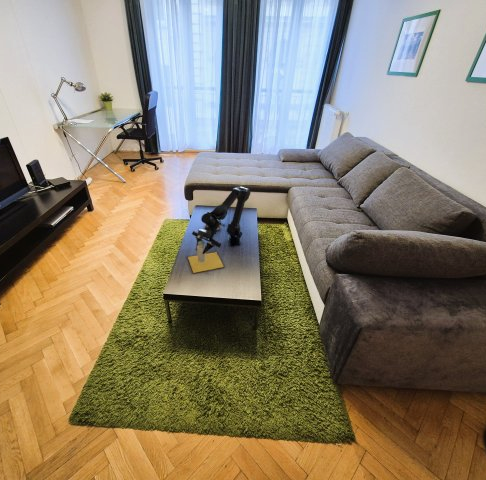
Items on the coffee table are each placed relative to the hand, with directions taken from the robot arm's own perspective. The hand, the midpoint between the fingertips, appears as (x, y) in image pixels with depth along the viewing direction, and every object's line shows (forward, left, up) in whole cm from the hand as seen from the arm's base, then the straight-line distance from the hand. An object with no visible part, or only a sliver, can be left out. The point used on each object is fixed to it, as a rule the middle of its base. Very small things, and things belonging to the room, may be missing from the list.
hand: (199, 252), depth 154 cm
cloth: (-4, -4, -12) cm, 13 cm away
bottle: (-1, -1, -7) cm, 7 cm away
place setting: (-23, -39, -12) cm, 47 cm away
